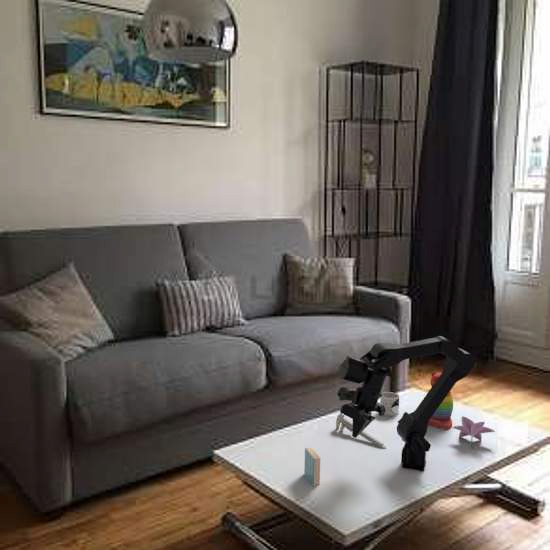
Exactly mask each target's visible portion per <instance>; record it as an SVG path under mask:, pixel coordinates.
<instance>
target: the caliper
mask: <svg viewBox="0 0 550 550" xmlns="http://www.w3.org/2000/svg"><path fill="white" fill-rule="evenodd" d="M339 428H340V429H339ZM345 428H346V429H347V430H348V431H349V432H350V433H351V432H352V429H353V421H350V420H349V419H347V418H345V415H344V414H342V413H340V412H339V415H337V417H336V420H335V429H336V430H339V431H340V432H342V430H343V431H344V430H345ZM358 436H361V437H362V438H364V439H365V440H367V441H369V442H370V443H372V444H373V445H374V446H376V447H378V446H379V447H378V448H381V447H382V449H384V450H386V449H387V446H385V445H384V442H381V441H380V440H379V439H377V438H375V437H373V436H372V435H371V434H369V433H367V432H366V431H364V430H363V431H362V432H361V433H360V434H359V435H358Z"/></svg>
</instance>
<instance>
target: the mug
mask: <svg viewBox="0 0 550 550" xmlns="http://www.w3.org/2000/svg"><path fill="white" fill-rule="evenodd" d="M381 393H382V397H380V402H379V403H380V404H382V405H384V406H385V409H386V410H385V413H384V415H383V416H385V417H396V415H397V416H398V415H399V412H400V410H399V409H400V394H398V393H395V392H391V391H385V392H381Z"/></svg>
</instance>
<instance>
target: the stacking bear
mask: <svg viewBox="0 0 550 550" xmlns="http://www.w3.org/2000/svg"><path fill="white" fill-rule="evenodd" d="M441 373H442V372H435V371H434V372H432V373H431V378H430V386H431V387H432V386H433V385H434V383H435V382H436V381H437V379H438V378H439V376H440V375H441ZM453 409H454V399H453V394H452V391H451V390H450V392H449V393H448V395H447V396H446V398H445V399H444V400H443V402H442V403H441V405H440V406H439V407H438V409H437V410H436V412H435V413H434V414H433V416H432V417H431V419H430V420H429V422H428V426H433V427H437V428H439V429H441V430H450V429H451V428H452V427H453V420H452V415H453V414H452V413H453Z"/></svg>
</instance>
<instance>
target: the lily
mask: <svg viewBox="0 0 550 550" xmlns="http://www.w3.org/2000/svg"><path fill="white" fill-rule="evenodd" d="M484 425H485V421H479V422H476V423H475V422H474V421H473V420H471V419H470V418H469V417H466V416H461V425H454V426H451V428H452V429H455V430H457V431H459V435H458V437H459V438H463V437H467V436H470V437H471V438H470V439H471V440H470V441H471V450H472V449H474V448H473V438H475V439H477V440H478V441H482V434H487V433H495V430H494V429H493V428H490V427H487V426H484Z"/></svg>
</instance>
